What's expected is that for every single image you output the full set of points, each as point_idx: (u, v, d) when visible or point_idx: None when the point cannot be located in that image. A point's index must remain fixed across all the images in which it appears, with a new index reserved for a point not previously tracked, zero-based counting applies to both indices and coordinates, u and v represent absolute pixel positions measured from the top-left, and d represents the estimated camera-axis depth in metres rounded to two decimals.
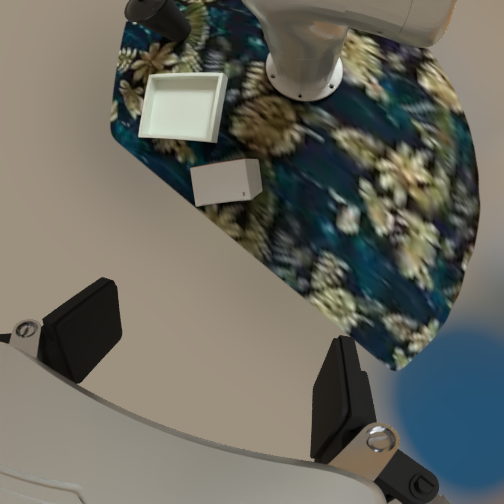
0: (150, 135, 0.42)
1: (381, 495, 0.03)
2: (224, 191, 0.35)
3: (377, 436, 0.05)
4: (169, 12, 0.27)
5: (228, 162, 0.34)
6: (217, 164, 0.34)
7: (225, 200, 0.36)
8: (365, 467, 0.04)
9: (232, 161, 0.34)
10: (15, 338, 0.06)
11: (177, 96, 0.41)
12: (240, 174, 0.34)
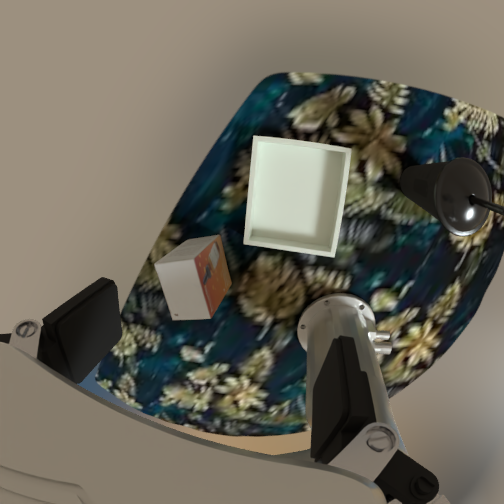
0: (254, 156, 0.32)
1: (381, 495, 0.03)
2: (174, 296, 0.32)
3: (377, 436, 0.05)
4: (437, 218, 0.23)
5: (204, 302, 0.31)
6: (201, 291, 0.31)
7: (166, 296, 0.32)
8: (365, 467, 0.04)
9: (206, 306, 0.31)
10: (15, 338, 0.06)
11: (313, 184, 0.34)
12: (194, 313, 0.32)
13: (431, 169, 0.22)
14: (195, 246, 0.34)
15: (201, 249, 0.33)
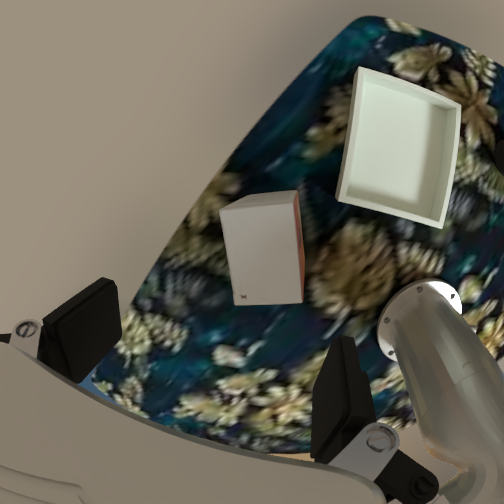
0: (360, 89, 0.21)
1: (381, 495, 0.03)
2: (247, 266, 0.20)
3: (377, 436, 0.05)
4: None
5: (298, 276, 0.20)
6: (297, 257, 0.19)
7: (231, 266, 0.21)
8: (365, 467, 0.04)
9: (299, 283, 0.20)
10: (15, 338, 0.06)
11: (418, 140, 0.23)
12: (276, 294, 0.21)
13: None
14: (275, 195, 0.23)
15: (292, 196, 0.21)
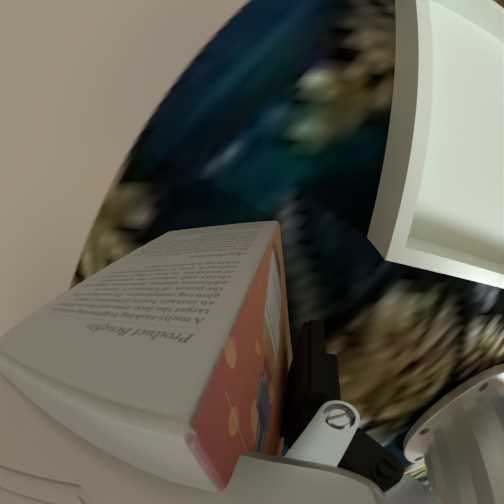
0: None
1: (381, 495, 0.03)
2: None
3: (335, 414, 0.06)
4: None
5: None
6: None
7: None
8: (320, 441, 0.05)
9: None
10: None
11: None
12: None
13: None
14: (194, 262, 0.07)
15: (235, 291, 0.05)
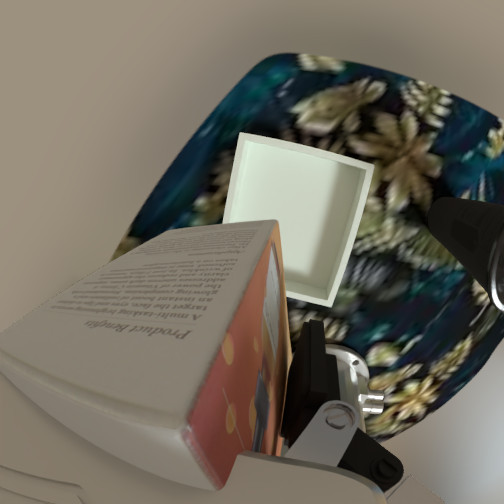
0: (238, 161, 0.23)
1: (381, 495, 0.03)
2: None
3: (335, 414, 0.06)
4: (479, 281, 0.15)
5: None
6: None
7: None
8: (320, 441, 0.05)
9: None
10: None
11: (316, 207, 0.25)
12: None
13: (483, 213, 0.14)
14: (193, 260, 0.07)
15: (233, 287, 0.05)
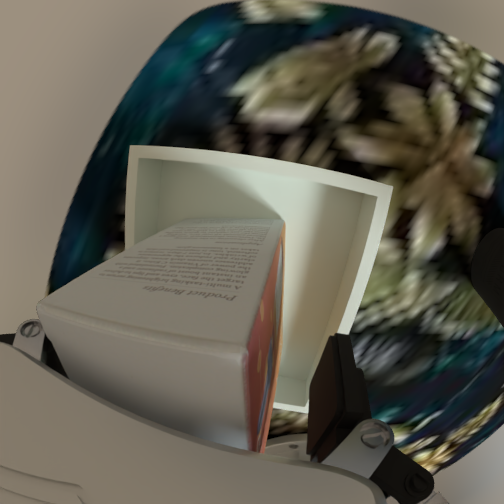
0: (131, 197, 0.12)
1: (381, 495, 0.03)
2: None
3: (371, 432, 0.05)
4: None
5: None
6: None
7: None
8: (359, 463, 0.04)
9: None
10: (20, 338, 0.06)
11: None
12: None
13: None
14: (222, 247, 0.09)
15: (260, 270, 0.07)
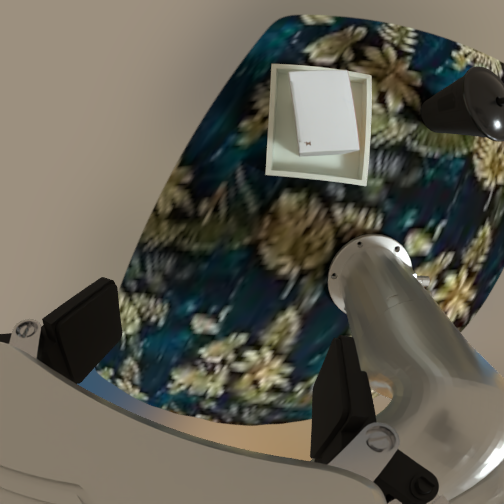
0: (273, 82, 0.27)
1: (381, 495, 0.03)
2: (312, 114, 0.21)
3: (377, 436, 0.05)
4: (468, 130, 0.18)
5: (355, 125, 0.20)
6: (353, 109, 0.20)
7: (298, 115, 0.21)
8: (365, 467, 0.04)
9: (356, 131, 0.21)
10: (15, 338, 0.06)
11: None
12: (337, 141, 0.21)
13: (453, 83, 0.17)
14: None
15: None
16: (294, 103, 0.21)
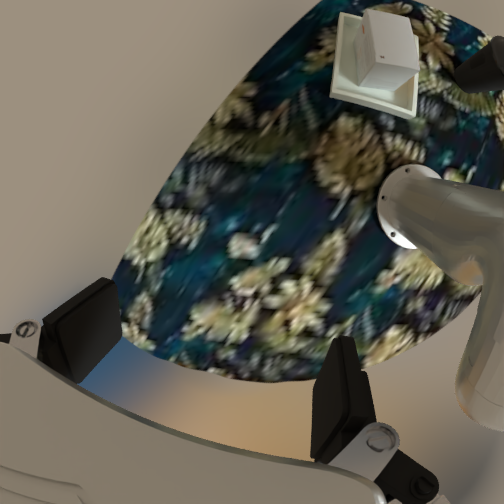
0: (341, 25, 0.25)
1: (381, 495, 0.03)
2: (385, 39, 0.19)
3: (377, 436, 0.05)
4: (495, 81, 0.17)
5: (416, 53, 0.19)
6: (414, 43, 0.19)
7: (374, 37, 0.20)
8: (365, 467, 0.04)
9: (417, 57, 0.19)
10: (15, 338, 0.06)
11: None
12: (404, 60, 0.20)
13: None
14: None
15: None
16: (371, 29, 0.19)
